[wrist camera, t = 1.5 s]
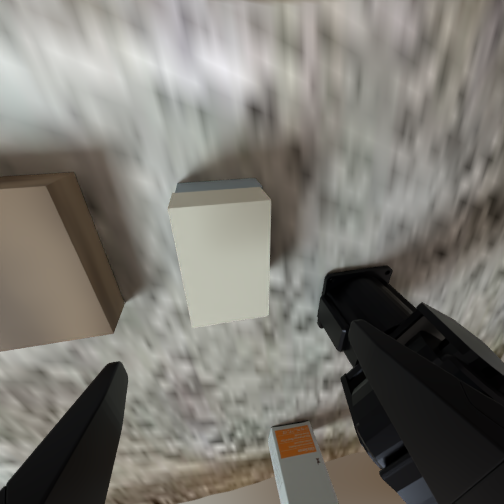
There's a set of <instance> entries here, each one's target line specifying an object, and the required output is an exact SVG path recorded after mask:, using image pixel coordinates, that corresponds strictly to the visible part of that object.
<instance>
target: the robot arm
mask: <svg viewBox="0 0 504 504" xmlns="http://www.w3.org/2000/svg"><path fill="white" fill-rule="evenodd" d="M391 274H392V269H391V268H390V267H389V266H381V267H374V268H366V269H359V270H352V271H345V272H338V273H331V274H328V275H327V276H326V277H325V279H324V285H323V291H322V296H321V298H320V303H319V309H318V315H317V317H318V322H317V324H318V326H319V327H320V328H324V329H325V331H326V332H327V334H328V336H329V337H330V339H331V341H332V342H333V344H334V346H335V348H336V349H337V350H338V351H339V352H342V351H343V352H344V353H345V355H346V356H347V358H348V360H349V361H350V363H351V365H352V366H353V368H352V369H351V370H350V371H349V372H348V373H347V374H344V375H343V376H342V377H341V382H342V386H343V389H344V393H345V396H346V399H347V403H348V406H349V410H350V413H351V416H352V420H353V423H354V427H355V430H356V433H357V435H358V438H359V441H360V443H361V445H362V446H363V447H364V449H365V450H366V452H367V453H368V455H369V456H370V457H371V459H372V460H373V461H374V462H375V463H376V464H377V466H379V468H380V469H382V470H380V471H379V472H380V476H381V477H382V479H383V480H384V481H385V482H386V483H387V484H389V486H391V487H392V488H393V489H394V490H395V491H396V492H397V493H398V494H399V495H400V496H401V498H402V499H403V500H404V501H405V502H406V503H407V504H504V363H503V362H502V361H501V360H500V359H499V358H498V356H497V355H496V354H495V353H494V352H493V351H492V350H491V349H490V348H489V347H488V346H487V345H486V344H485V343H483V342H482V341H481V340H480V339H478V338H477V337H476V336H475V335H473V334H472V333H471V332H469V331H468V330H467V329H465V328H464V327H463V326H462V325H460V324H459V323H458V322H456V321H455V320H454V319H452V318H450V317H448V316H446V315H445V314H443V313H441V312H439V311H437V310H435V309H434V308H432V307H430V306H428V305H426V304H425V303H423V302H421V303H420V304H419V305H418V306H417V307H416V308H417V309H416V308H415V307H414V306H413V305H412V304H411V303H410V302H408V301H407V300H406V299H405V298H404V297H403V296H402V295H401V294H400V293H398V292H397V291H396V290H395V289H394V288H393V287H392V286H391V285H390V284H388V283H389V280H390V277H391ZM330 279H331V280H330ZM127 386H128V375H127V372H126V370H125V368H124V366H123V364H122V362H120V361H118V362H112V363H109V364H107V365H106V366H105V367H104V368H103V370H102V371H101V372H100V373H99V374H98V376H97V377H96V378H95V379H94V380H93V381H92V383H91V384H90V385H89V386H88V387H87V389H86V390H85V391H84V392H83V393H82V395H81V396H80V397H79V398H78V399H77V400H76V402H75V403H74V404H73V405H72V406H71V408H70V409H69V410H68V411H67V412H66V413H65V415H64V416H63V417H62V418H61V419H60V421H59V422H58V423H57V424H56V425H55V427H54V428H53V429H52V430H51V431H50V432H49V434H48V435H47V436H46V437H45V438H44V440H43V441H42V442H41V443H40V444H39V445H38V447H37V448H36V449H35V450H34V451H33V453H32V454H31V455H30V456H29V457H28V459H27V460H26V461H25V462H24V463H23V464H22V466H21V467H20V468H19V469H18V470H17V472H16V473H15V474H14V475H13V476H12V477H11V479H10V480H9V481H8V482H7V484H6V486H4V487H3V488H2V489H1V490H0V504H105V500H106V496H107V491H108V487H109V483H110V478H111V474H112V470H113V465H114V461H115V457H116V452H117V448H118V444H119V439H120V435H121V430H122V425H123V418H124V410H125V402H126V394H127Z"/></svg>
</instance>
